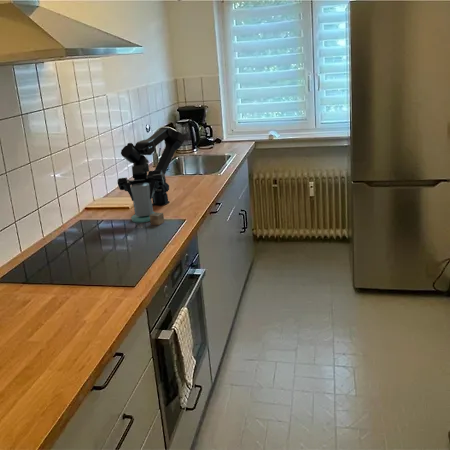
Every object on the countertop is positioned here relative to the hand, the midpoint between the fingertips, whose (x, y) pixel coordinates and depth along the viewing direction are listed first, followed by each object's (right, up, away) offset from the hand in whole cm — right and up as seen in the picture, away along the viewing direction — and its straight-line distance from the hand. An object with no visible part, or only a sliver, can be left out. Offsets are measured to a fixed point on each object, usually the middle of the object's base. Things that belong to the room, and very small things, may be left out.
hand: (141, 199), depth 212 cm
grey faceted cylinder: (0, -6, +3) cm, 7 cm away
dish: (+1, -8, +4) cm, 9 cm away
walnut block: (+7, -10, -4) cm, 13 cm away
